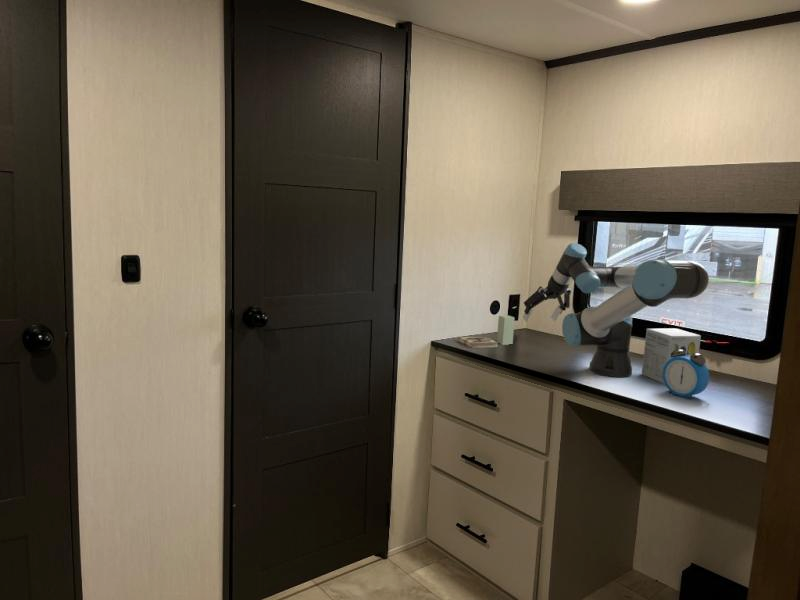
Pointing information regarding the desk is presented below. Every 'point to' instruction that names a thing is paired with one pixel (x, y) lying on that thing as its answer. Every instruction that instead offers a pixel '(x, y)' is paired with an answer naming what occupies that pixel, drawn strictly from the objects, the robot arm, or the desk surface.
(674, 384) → the alarm clock
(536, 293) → the robot arm
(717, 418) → the desk surface
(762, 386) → the desk surface
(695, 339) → the supplement box
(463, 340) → the letter tile
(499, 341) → the sage pillar
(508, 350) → the desk surface
